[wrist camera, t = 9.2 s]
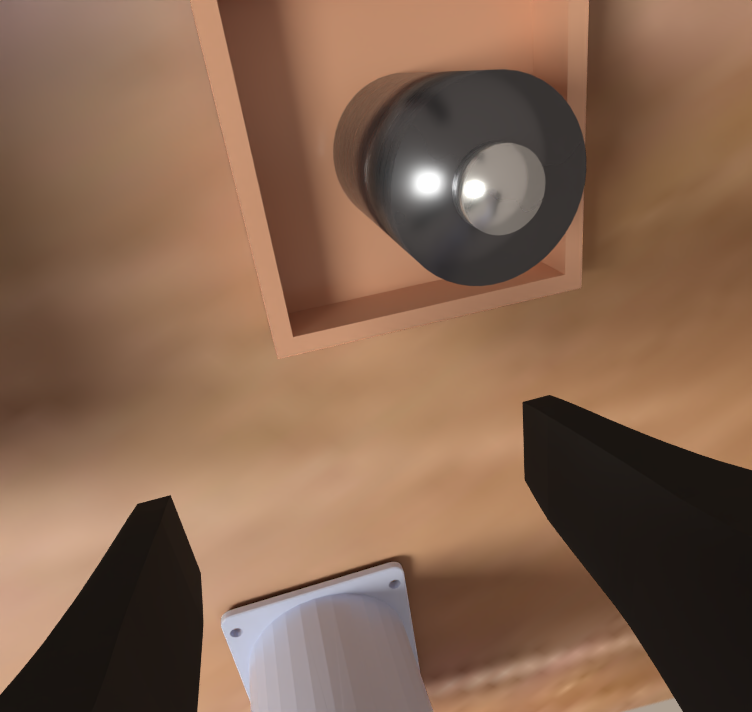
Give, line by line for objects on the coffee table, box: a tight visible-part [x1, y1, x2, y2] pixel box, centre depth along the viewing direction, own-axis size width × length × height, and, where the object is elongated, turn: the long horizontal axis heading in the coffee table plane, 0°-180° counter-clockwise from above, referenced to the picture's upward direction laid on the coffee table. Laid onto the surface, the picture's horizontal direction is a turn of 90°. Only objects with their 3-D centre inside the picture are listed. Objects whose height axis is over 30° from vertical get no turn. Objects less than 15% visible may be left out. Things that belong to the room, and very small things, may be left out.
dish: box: [190, 0, 589, 359], centre depth 17 cm, size 10×10×2 cm
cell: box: [333, 69, 586, 286], centre depth 15 cm, size 4×4×7 cm
